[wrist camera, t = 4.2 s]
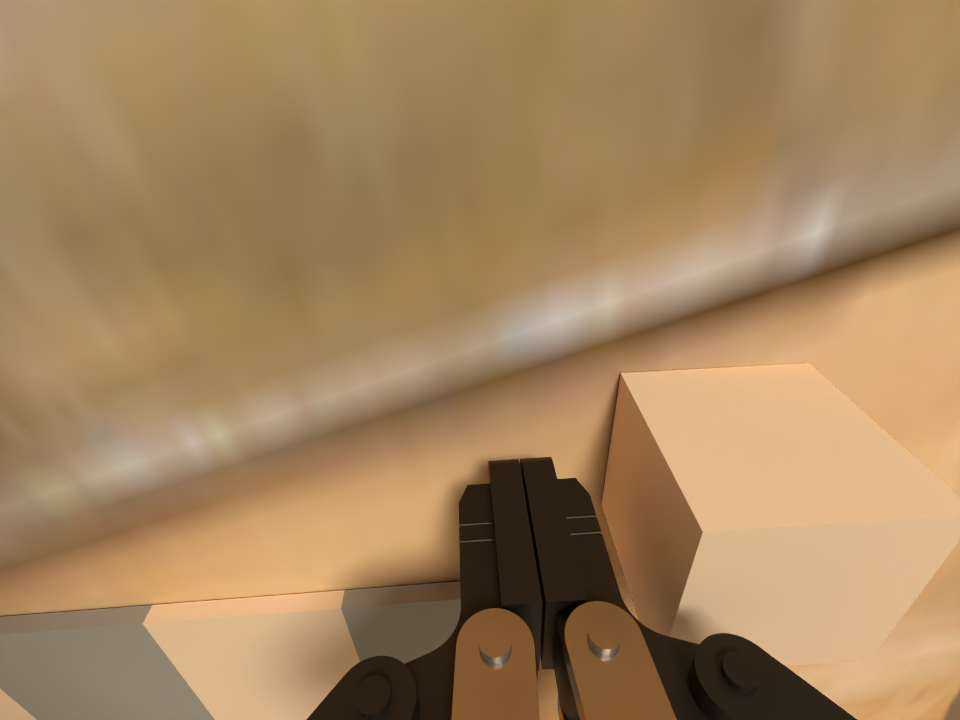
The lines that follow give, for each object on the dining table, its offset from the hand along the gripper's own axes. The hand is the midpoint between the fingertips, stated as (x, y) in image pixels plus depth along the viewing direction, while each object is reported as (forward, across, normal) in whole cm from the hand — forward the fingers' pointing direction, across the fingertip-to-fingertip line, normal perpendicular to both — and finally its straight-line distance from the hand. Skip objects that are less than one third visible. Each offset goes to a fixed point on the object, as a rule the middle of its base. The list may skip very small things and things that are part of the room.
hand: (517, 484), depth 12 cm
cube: (+1, -5, 0) cm, 5 cm away
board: (+1, +11, +9) cm, 15 cm away
